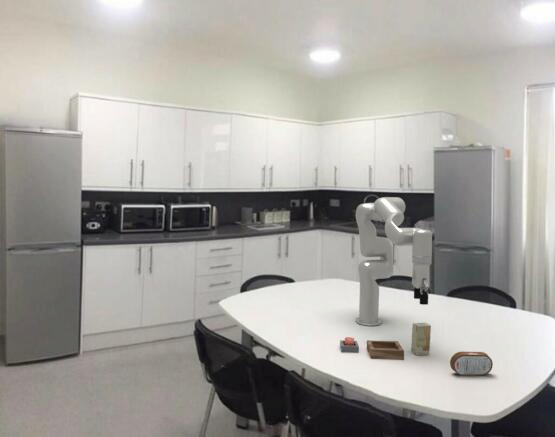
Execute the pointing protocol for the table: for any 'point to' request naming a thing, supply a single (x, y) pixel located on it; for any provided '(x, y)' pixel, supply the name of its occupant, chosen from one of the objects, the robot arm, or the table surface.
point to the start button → (349, 341)
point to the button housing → (349, 347)
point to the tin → (471, 363)
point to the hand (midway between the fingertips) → (420, 301)
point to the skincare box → (420, 338)
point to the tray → (385, 350)
